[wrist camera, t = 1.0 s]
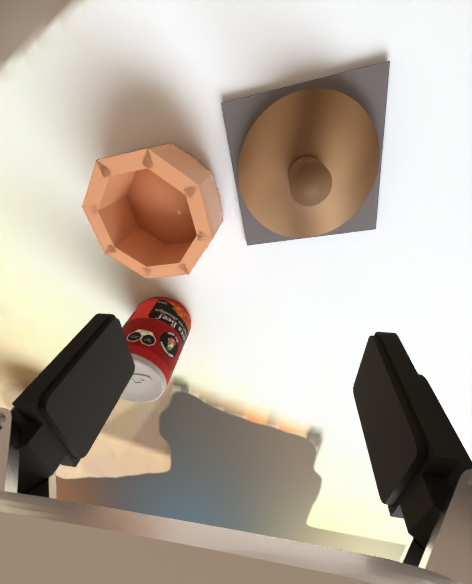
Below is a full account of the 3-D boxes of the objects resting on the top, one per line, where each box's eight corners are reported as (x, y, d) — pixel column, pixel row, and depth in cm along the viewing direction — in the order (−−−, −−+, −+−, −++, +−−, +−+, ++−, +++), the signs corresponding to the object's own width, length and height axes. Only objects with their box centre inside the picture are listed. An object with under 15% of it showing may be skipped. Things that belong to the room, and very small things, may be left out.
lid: (381, 71, 20) (416, 55, 15) (370, 224, 26) (392, 251, 21) (228, 108, 23) (212, 106, 18) (250, 240, 29) (244, 267, 24)
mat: (387, 62, 20) (389, 60, 20) (373, 227, 27) (375, 229, 26) (222, 103, 23) (221, 103, 23) (247, 243, 30) (247, 245, 29)
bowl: (206, 134, 25) (187, 139, 20) (230, 245, 30) (220, 270, 25) (102, 158, 27) (62, 167, 22) (143, 256, 33) (118, 281, 28)
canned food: (202, 329, 38) (178, 396, 29) (159, 343, 41) (124, 408, 32) (172, 287, 35) (133, 347, 26) (127, 305, 37) (78, 366, 28)
